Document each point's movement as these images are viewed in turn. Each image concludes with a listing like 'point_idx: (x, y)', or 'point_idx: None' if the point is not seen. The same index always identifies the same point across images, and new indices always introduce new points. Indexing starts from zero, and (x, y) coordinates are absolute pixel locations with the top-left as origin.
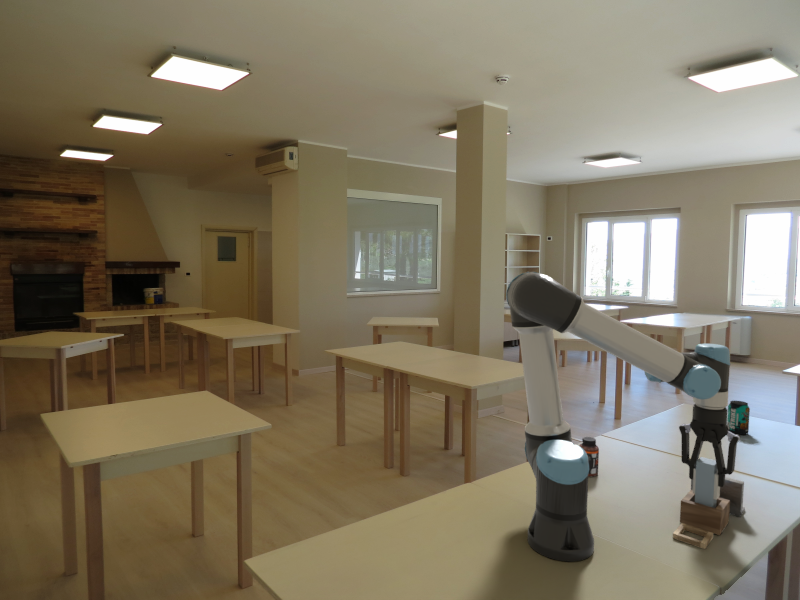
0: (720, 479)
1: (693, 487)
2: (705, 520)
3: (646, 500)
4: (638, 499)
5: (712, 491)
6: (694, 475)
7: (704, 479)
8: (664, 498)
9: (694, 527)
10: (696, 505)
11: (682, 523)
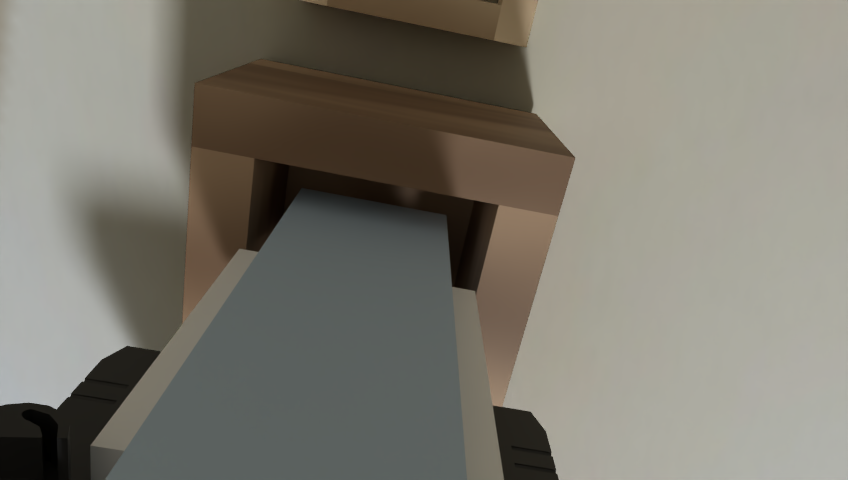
0: (104, 419)
1: (473, 323)
2: (352, 91)
3: (755, 352)
4: (811, 340)
5: (255, 269)
6: (480, 425)
7: (333, 359)
8: (634, 438)
9: (431, 15)
10: (426, 127)
11: (521, 38)
